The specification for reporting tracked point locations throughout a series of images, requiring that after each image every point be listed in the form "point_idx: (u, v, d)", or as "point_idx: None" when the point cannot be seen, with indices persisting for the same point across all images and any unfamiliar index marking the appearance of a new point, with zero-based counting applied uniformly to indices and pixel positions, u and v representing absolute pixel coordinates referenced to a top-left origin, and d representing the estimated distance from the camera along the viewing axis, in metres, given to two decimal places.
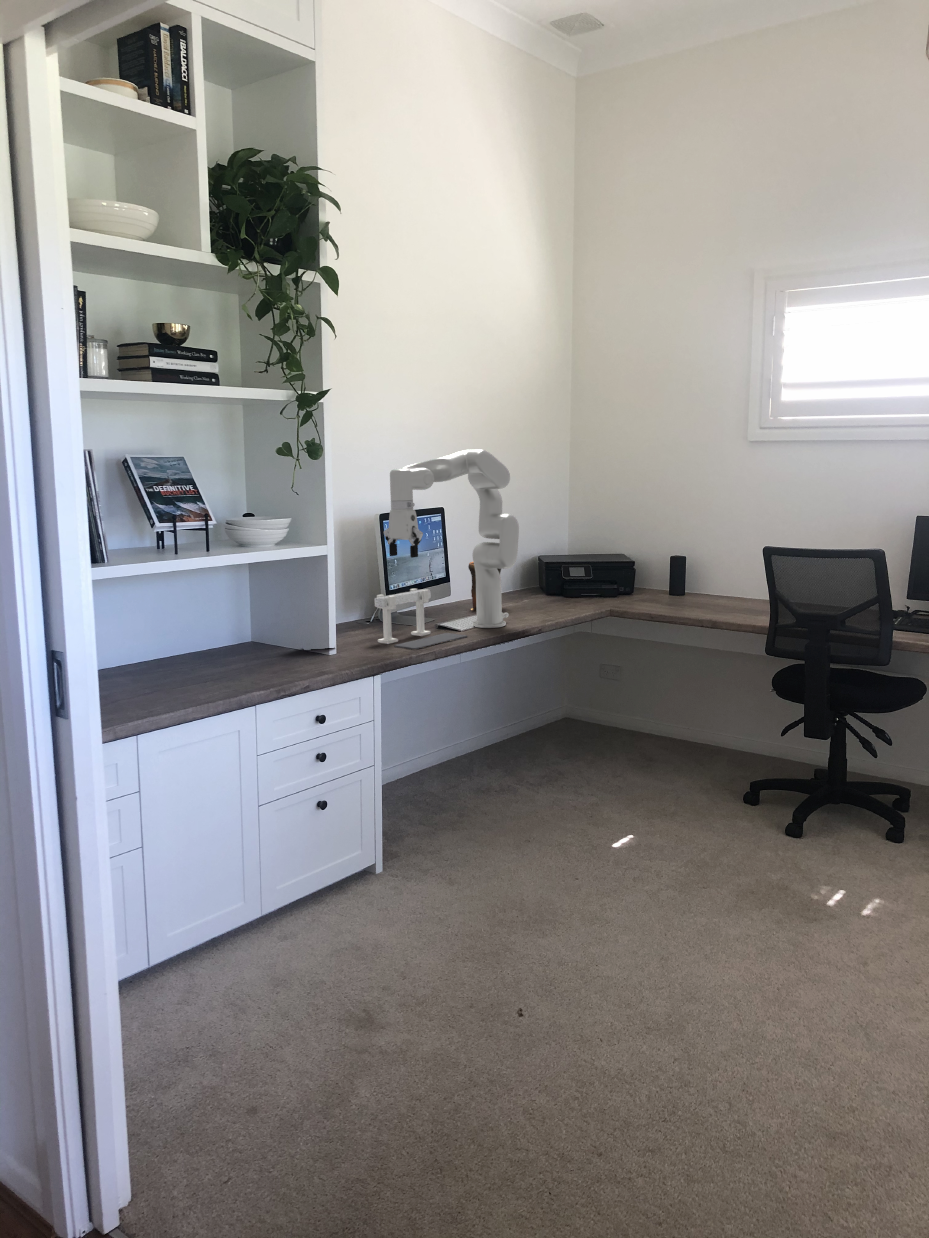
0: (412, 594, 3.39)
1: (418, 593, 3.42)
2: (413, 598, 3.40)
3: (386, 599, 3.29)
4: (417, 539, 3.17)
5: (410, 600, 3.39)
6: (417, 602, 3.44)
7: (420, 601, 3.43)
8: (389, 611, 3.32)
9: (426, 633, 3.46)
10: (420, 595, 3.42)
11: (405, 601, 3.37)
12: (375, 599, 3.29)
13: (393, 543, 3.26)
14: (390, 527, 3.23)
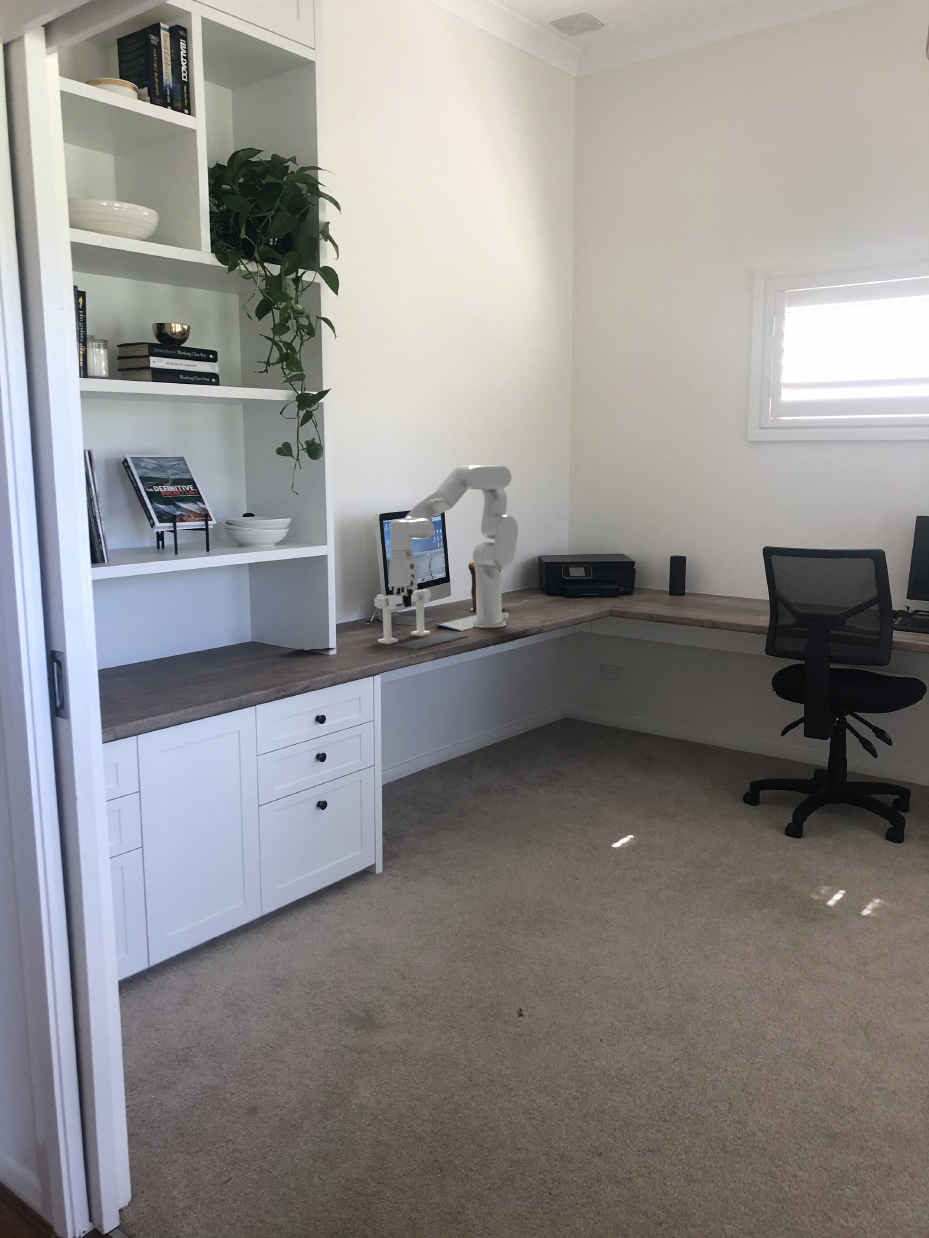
0: (412, 594, 3.39)
1: (418, 593, 3.42)
2: (413, 598, 3.40)
3: (386, 599, 3.29)
4: (410, 590, 3.34)
5: None
6: (417, 602, 3.44)
7: (420, 601, 3.43)
8: (389, 611, 3.32)
9: (426, 633, 3.46)
10: (420, 595, 3.42)
11: None
12: (375, 599, 3.29)
13: (399, 592, 3.39)
14: (390, 575, 3.38)
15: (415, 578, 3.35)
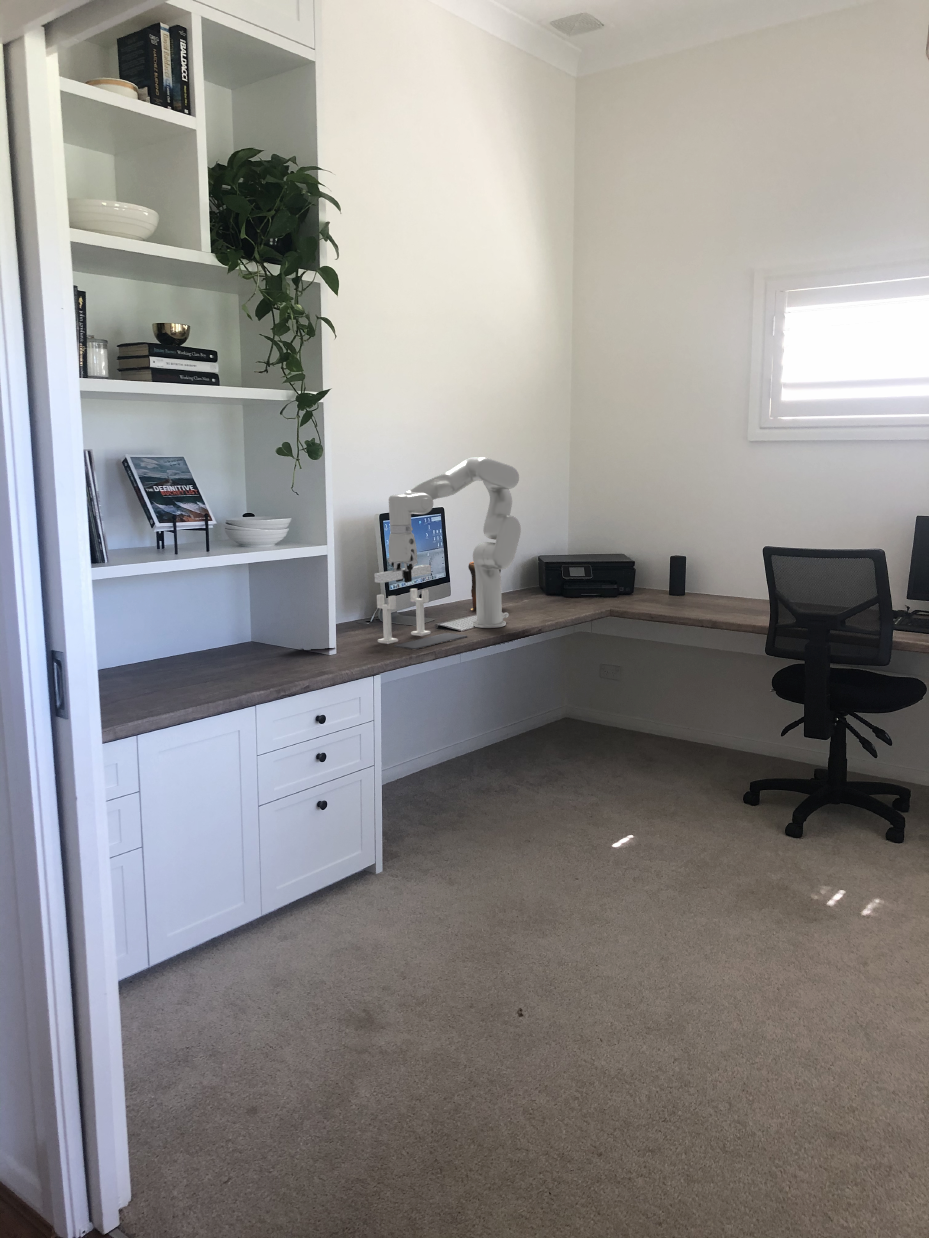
0: None
1: (418, 568, 3.40)
2: (413, 573, 3.39)
3: (386, 574, 3.28)
4: (410, 565, 3.33)
5: None
6: (417, 602, 3.44)
7: (420, 601, 3.43)
8: (389, 611, 3.32)
9: (426, 633, 3.46)
10: (420, 570, 3.41)
11: None
12: (375, 575, 3.28)
13: (399, 568, 3.38)
14: (390, 550, 3.36)
15: (415, 553, 3.33)
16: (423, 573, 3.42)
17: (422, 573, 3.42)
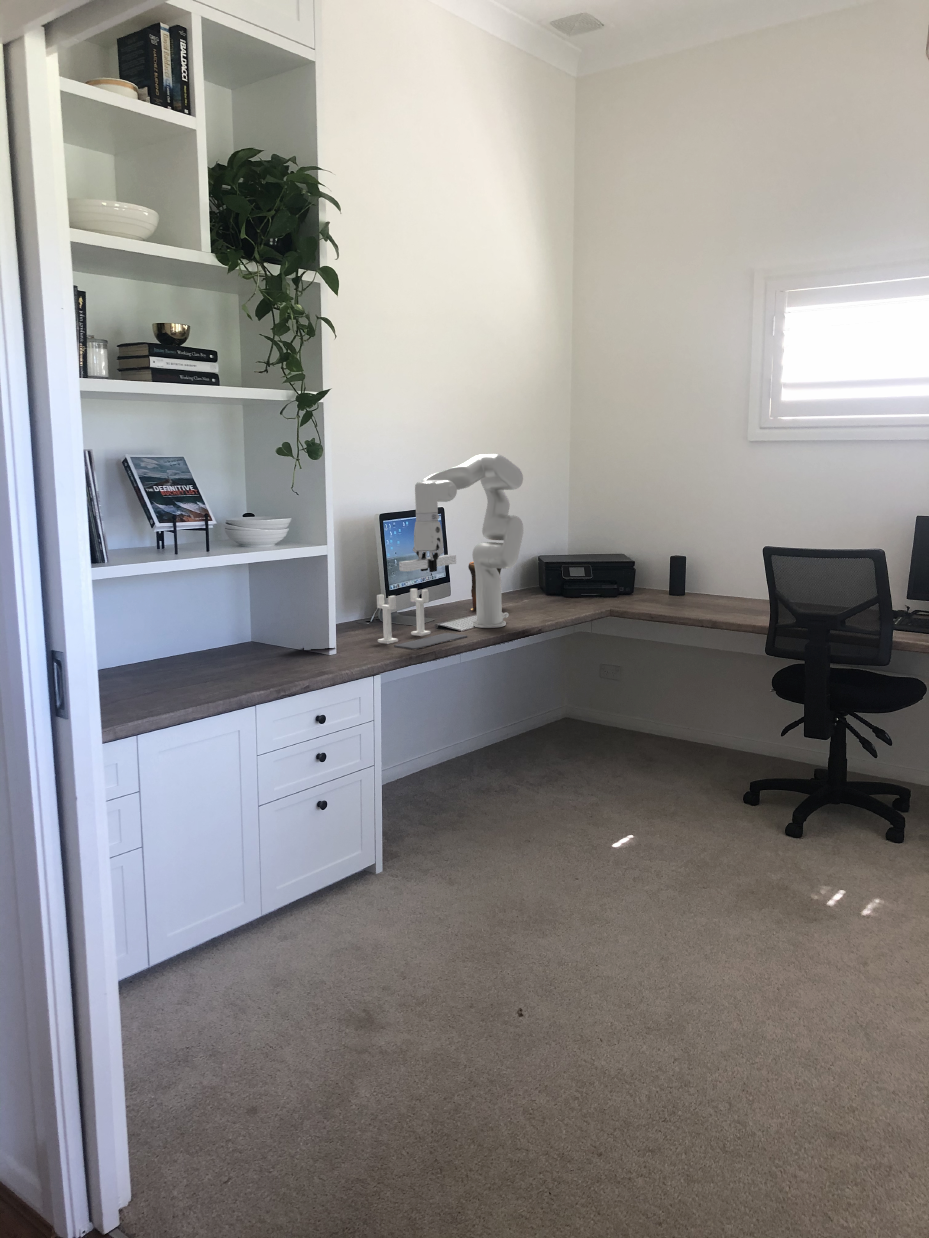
0: None
1: (444, 558, 3.31)
2: (439, 563, 3.29)
3: (411, 563, 3.19)
4: (436, 554, 3.24)
5: None
6: (417, 602, 3.44)
7: (420, 601, 3.43)
8: (389, 611, 3.32)
9: (426, 633, 3.46)
10: (446, 560, 3.32)
11: None
12: (400, 563, 3.19)
13: (424, 557, 3.29)
14: (415, 539, 3.27)
15: (441, 542, 3.24)
16: (448, 563, 3.33)
17: (447, 563, 3.33)
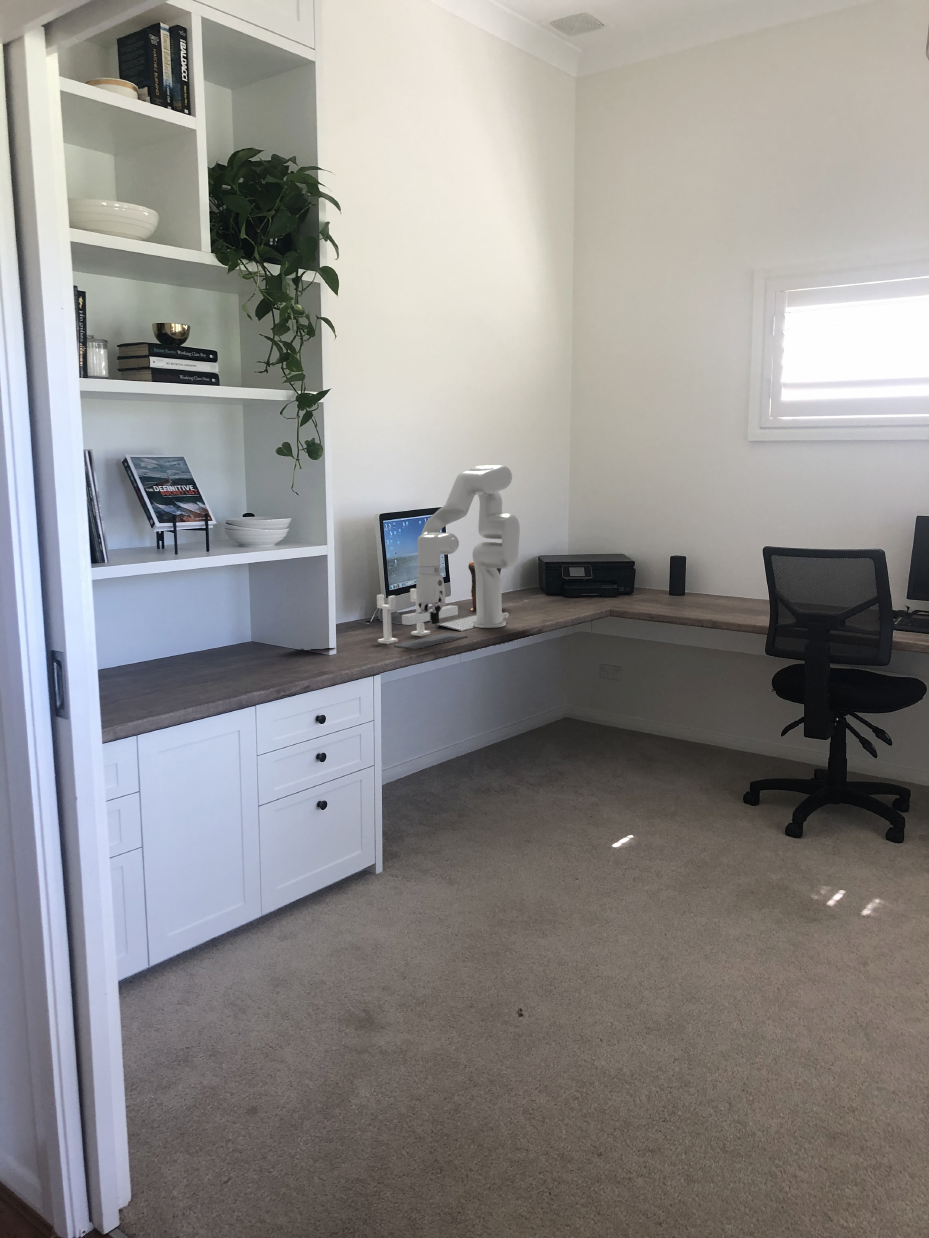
0: (440, 611, 3.32)
1: (445, 610, 3.34)
2: (441, 615, 3.32)
3: (414, 616, 3.22)
4: (438, 607, 3.27)
5: None
6: None
7: None
8: (389, 611, 3.32)
9: (426, 633, 3.46)
10: (447, 612, 3.35)
11: None
12: (402, 616, 3.22)
13: (426, 609, 3.32)
14: (417, 591, 3.30)
15: (443, 594, 3.27)
16: (450, 614, 3.36)
17: (449, 614, 3.36)
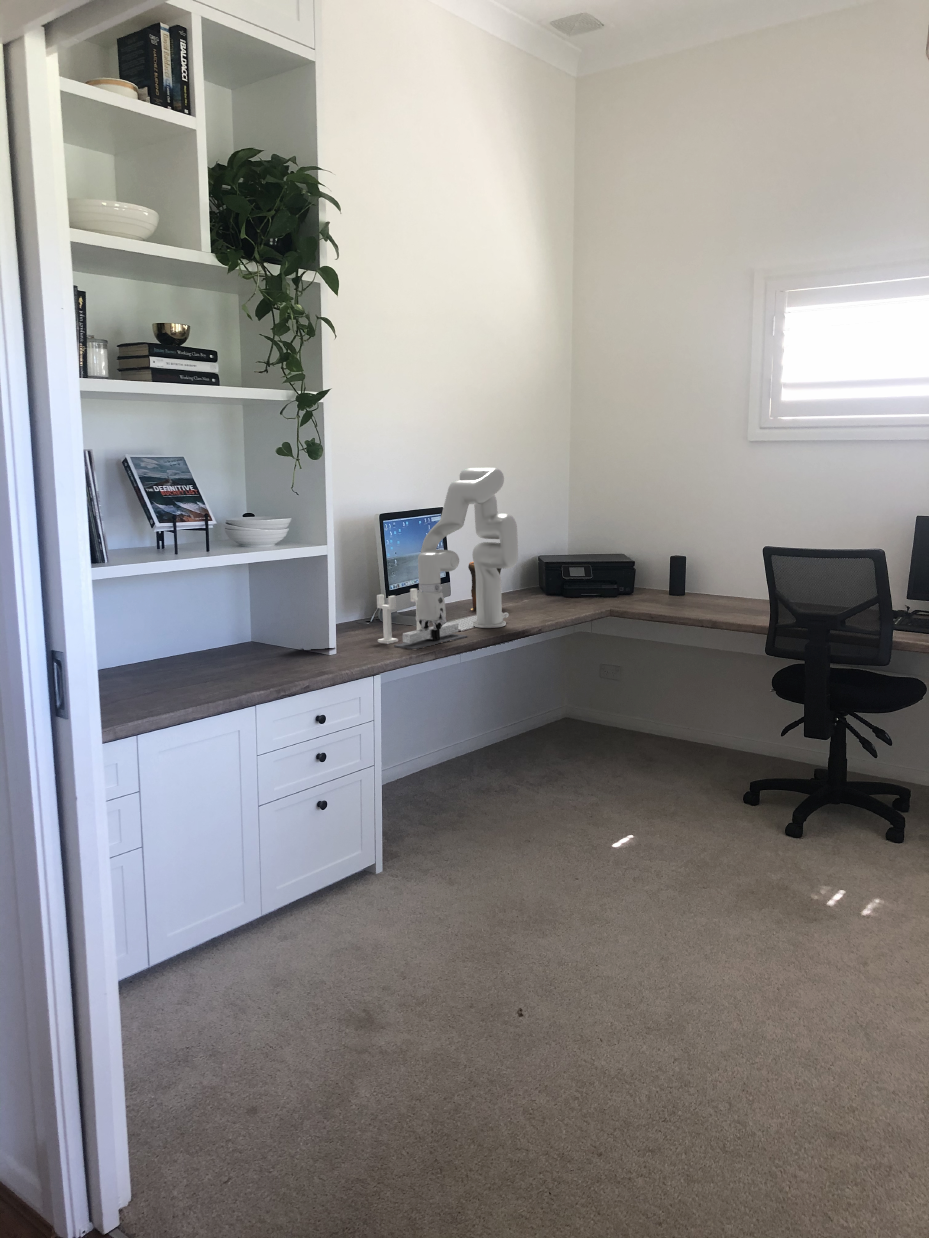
0: None
1: (446, 627, 3.35)
2: (441, 632, 3.33)
3: (414, 634, 3.23)
4: (439, 624, 3.28)
5: None
6: None
7: None
8: (389, 611, 3.32)
9: None
10: (448, 629, 3.36)
11: None
12: (403, 634, 3.23)
13: (427, 626, 3.33)
14: (418, 608, 3.31)
15: (444, 612, 3.28)
16: (451, 631, 3.37)
17: (450, 631, 3.37)
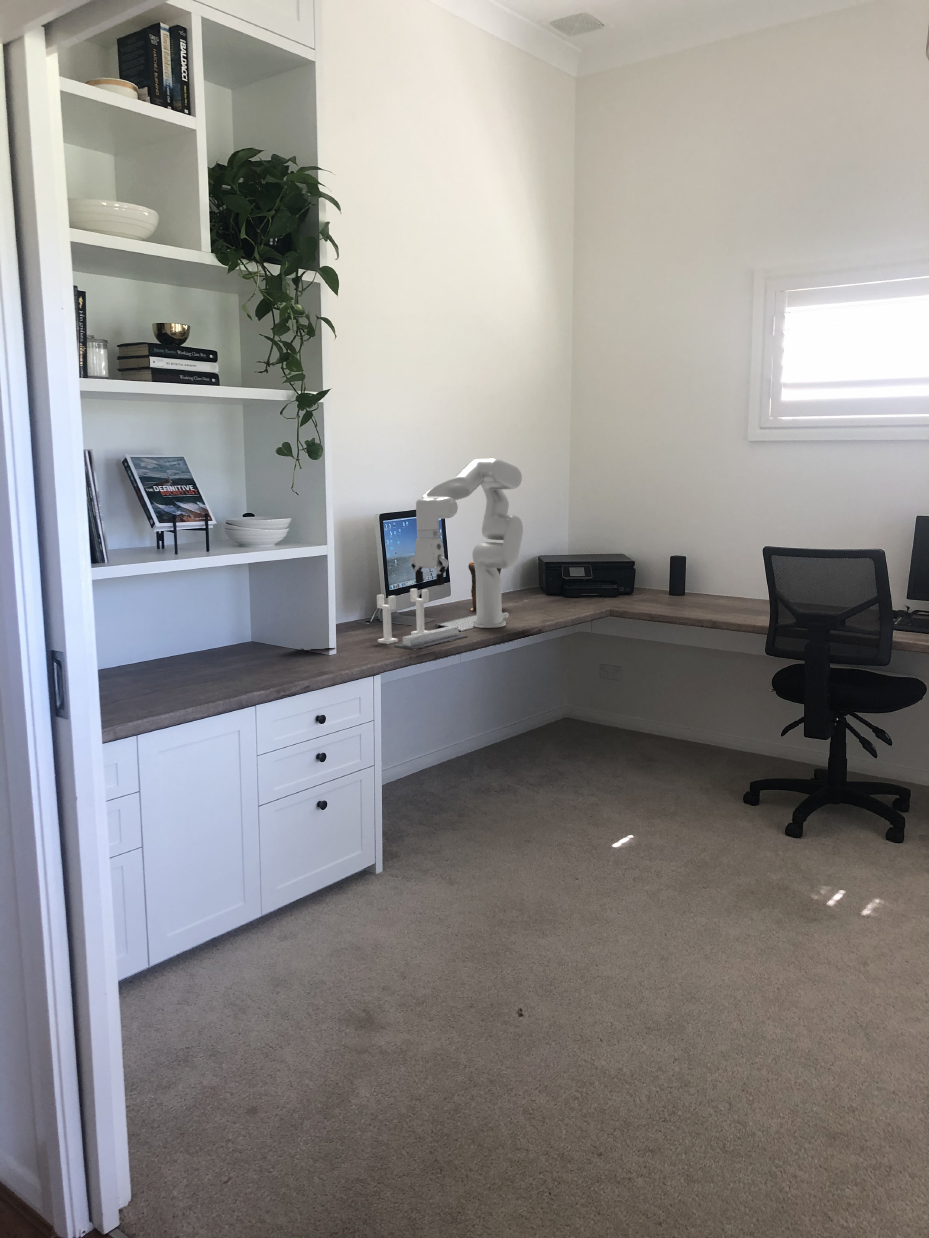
0: (440, 632, 3.33)
1: (446, 630, 3.35)
2: (441, 636, 3.34)
3: (415, 638, 3.23)
4: (443, 567, 3.23)
5: (438, 638, 3.32)
6: (417, 602, 3.44)
7: (420, 601, 3.43)
8: (389, 611, 3.32)
9: None
10: (448, 632, 3.36)
11: (433, 639, 3.31)
12: (403, 638, 3.23)
13: (419, 571, 3.32)
14: (416, 555, 3.28)
15: None
16: (451, 635, 3.37)
17: (450, 635, 3.37)
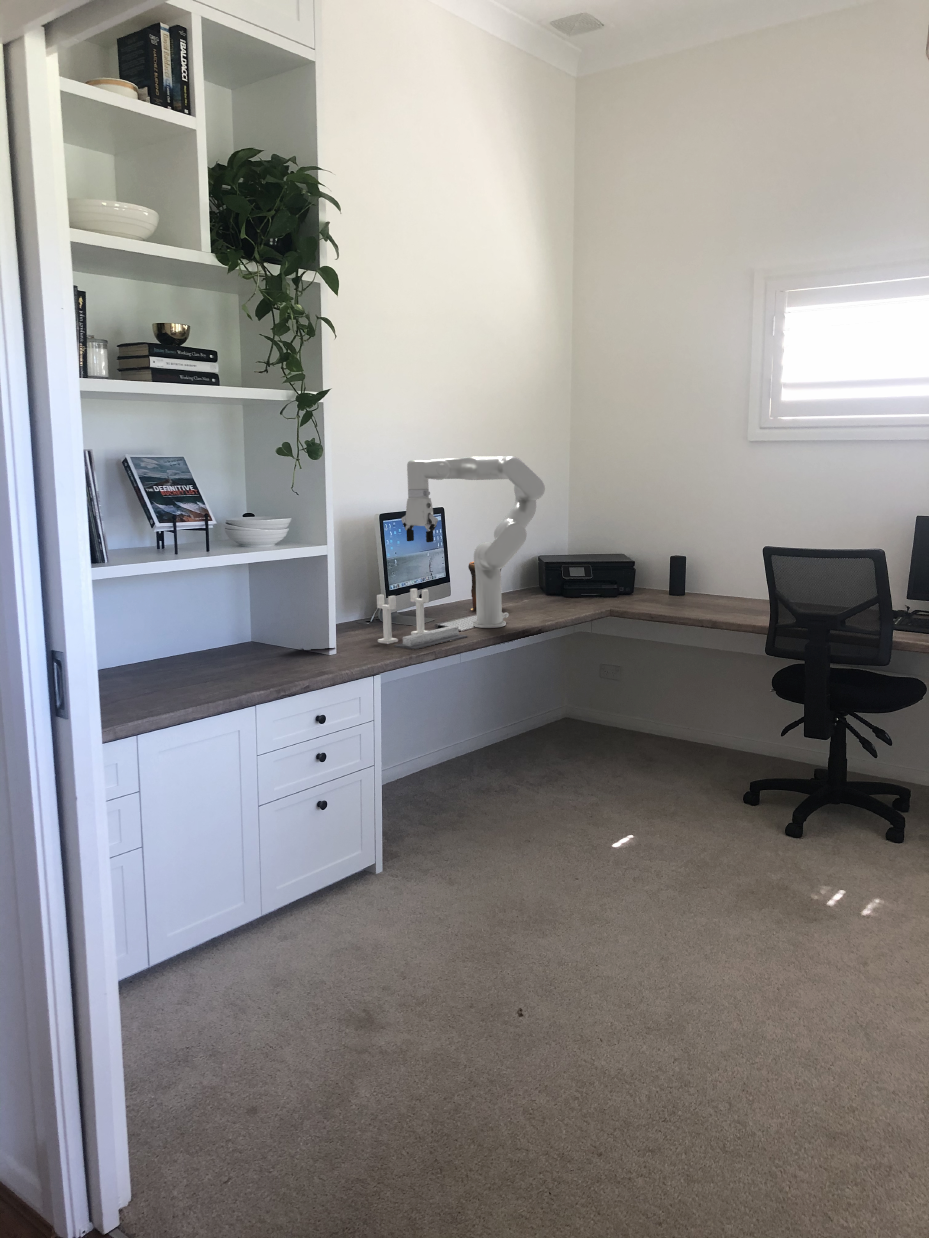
0: (440, 632, 3.33)
1: (446, 630, 3.35)
2: (441, 636, 3.34)
3: (415, 638, 3.23)
4: (432, 525, 3.42)
5: (438, 638, 3.32)
6: (417, 602, 3.44)
7: (420, 601, 3.43)
8: (389, 611, 3.32)
9: None
10: (448, 632, 3.36)
11: (433, 639, 3.31)
12: (403, 638, 3.23)
13: (410, 529, 3.50)
14: (407, 514, 3.47)
15: None
16: (451, 635, 3.37)
17: (450, 635, 3.37)
